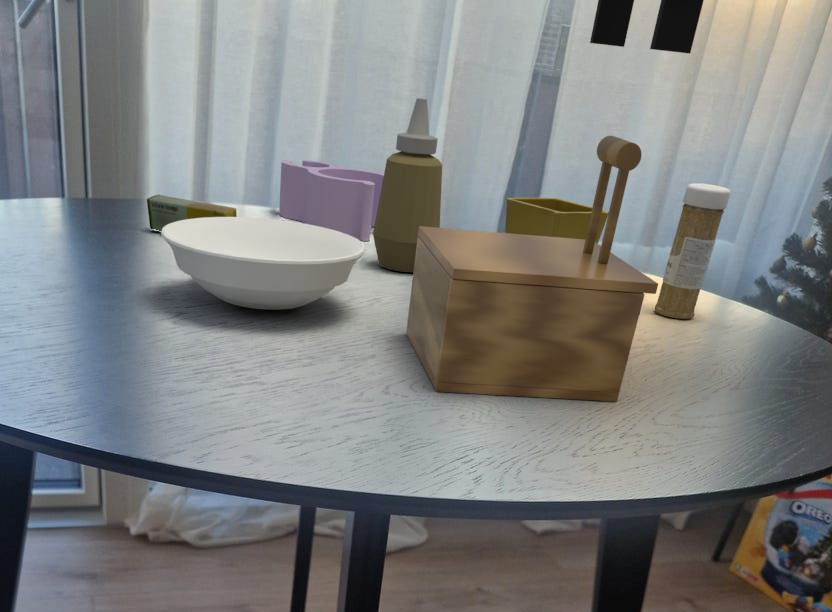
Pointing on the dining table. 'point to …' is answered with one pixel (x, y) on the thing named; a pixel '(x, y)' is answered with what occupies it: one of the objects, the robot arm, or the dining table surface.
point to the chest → (519, 335)
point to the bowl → (262, 259)
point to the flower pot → (550, 218)
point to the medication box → (182, 210)
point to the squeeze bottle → (408, 194)
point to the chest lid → (549, 243)
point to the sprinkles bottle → (691, 249)
